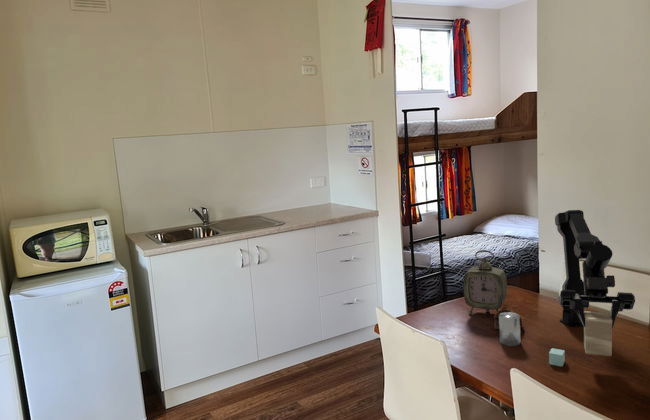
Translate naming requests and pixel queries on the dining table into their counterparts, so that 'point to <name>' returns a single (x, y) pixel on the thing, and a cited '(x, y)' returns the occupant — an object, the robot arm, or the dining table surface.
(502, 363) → the dining table surface
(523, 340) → the dining table surface
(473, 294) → the tabletop clock
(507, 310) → the pottery mug
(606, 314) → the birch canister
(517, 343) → the grey tin
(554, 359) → the letter block
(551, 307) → the dining table surface
